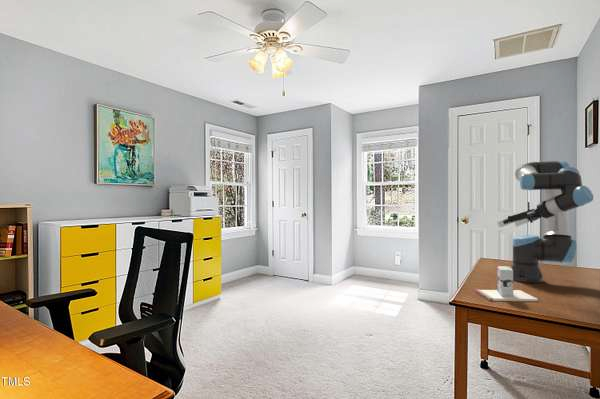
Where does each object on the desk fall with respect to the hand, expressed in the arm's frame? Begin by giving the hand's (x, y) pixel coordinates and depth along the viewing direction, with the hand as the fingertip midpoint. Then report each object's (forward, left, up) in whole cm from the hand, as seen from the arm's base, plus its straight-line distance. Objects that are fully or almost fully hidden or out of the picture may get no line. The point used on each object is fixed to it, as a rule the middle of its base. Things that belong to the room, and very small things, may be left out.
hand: (507, 224), depth 169 cm
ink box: (+10, +18, -30) cm, 36 cm away
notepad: (+10, +18, -31) cm, 37 cm away
